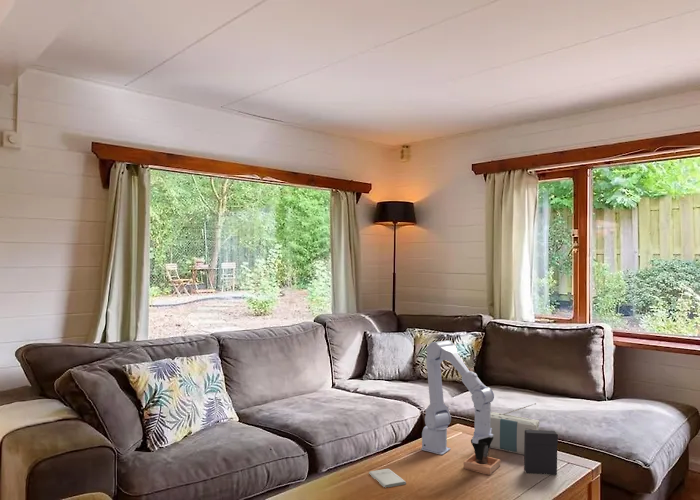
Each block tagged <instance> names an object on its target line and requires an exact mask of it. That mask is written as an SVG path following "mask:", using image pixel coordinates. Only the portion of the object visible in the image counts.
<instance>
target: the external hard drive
mask: <svg viewBox="0 0 700 500" xmlns="http://www.w3.org/2000/svg"><path fill="white" fill-rule="evenodd" d="M369 474H370V475H371V476H370V475H369ZM368 475H369V476H370V477H371V478H372V479H374V480H375V479H376V480H377V481H378V482H379V483H378V482H377V481H376V480H375V481H376V482H377V483H378V484H379V485H380V486H382V487H383V488H384V487H385V488H384V489H387V488H386V487H388V488H393V487H398V486H403V485H407V482H406V480H404V479H403V478H402V477H401V476H399V475H398V474H397V473H395V472H394V471H393V470H391V469H390V468H383V469H377V470H371V471H369V472H368Z"/></svg>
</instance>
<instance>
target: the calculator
mask: <svg viewBox="0 0 700 500" xmlns="http://www.w3.org/2000/svg"><path fill="white" fill-rule="evenodd" d="M558 445H559V434H558V433H557V432H556V431H555V430H540V429H539V430H525V436H524V455H523V457H524V458H523V461H524V462H523V470H524V472H525V474H528V475H545V476H546V475H547V476H548V475H549V476H557V475H558Z"/></svg>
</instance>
